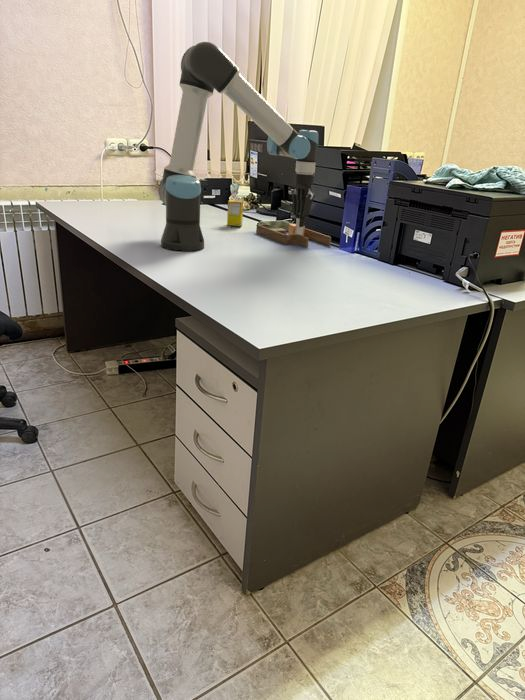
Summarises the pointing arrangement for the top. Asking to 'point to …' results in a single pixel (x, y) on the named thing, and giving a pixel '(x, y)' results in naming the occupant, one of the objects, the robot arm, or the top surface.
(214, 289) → the top surface
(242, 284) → the top surface
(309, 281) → the top surface
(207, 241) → the top surface
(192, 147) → the robot arm
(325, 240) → the trap lane
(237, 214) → the supplement box
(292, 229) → the terracotta block
